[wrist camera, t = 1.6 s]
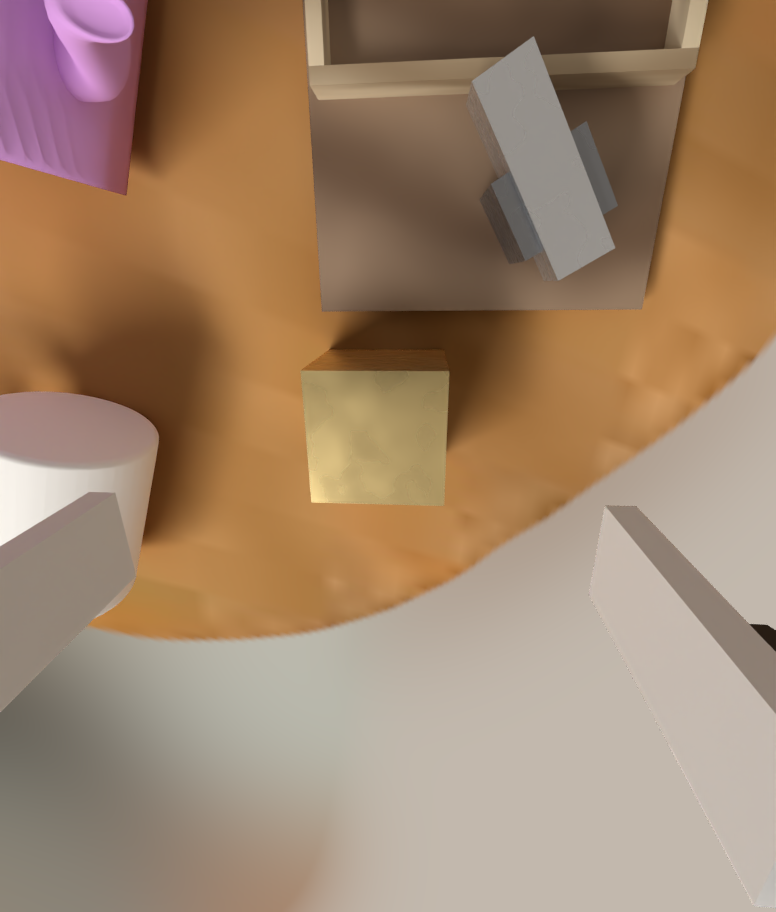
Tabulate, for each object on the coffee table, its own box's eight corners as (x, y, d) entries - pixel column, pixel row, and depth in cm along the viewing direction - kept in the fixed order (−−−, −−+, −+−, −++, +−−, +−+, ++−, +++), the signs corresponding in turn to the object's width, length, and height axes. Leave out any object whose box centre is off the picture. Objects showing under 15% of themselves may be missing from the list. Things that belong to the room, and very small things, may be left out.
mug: (187, 426, 26) (93, 485, 18) (161, 560, 30) (73, 653, 22) (-18, 353, 25) (-201, 383, 18) (-18, 499, 29) (-171, 575, 21)
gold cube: (329, 349, 24) (300, 370, 18) (443, 349, 23) (449, 371, 18) (335, 454, 26) (311, 502, 20) (439, 456, 25) (444, 506, 20)
